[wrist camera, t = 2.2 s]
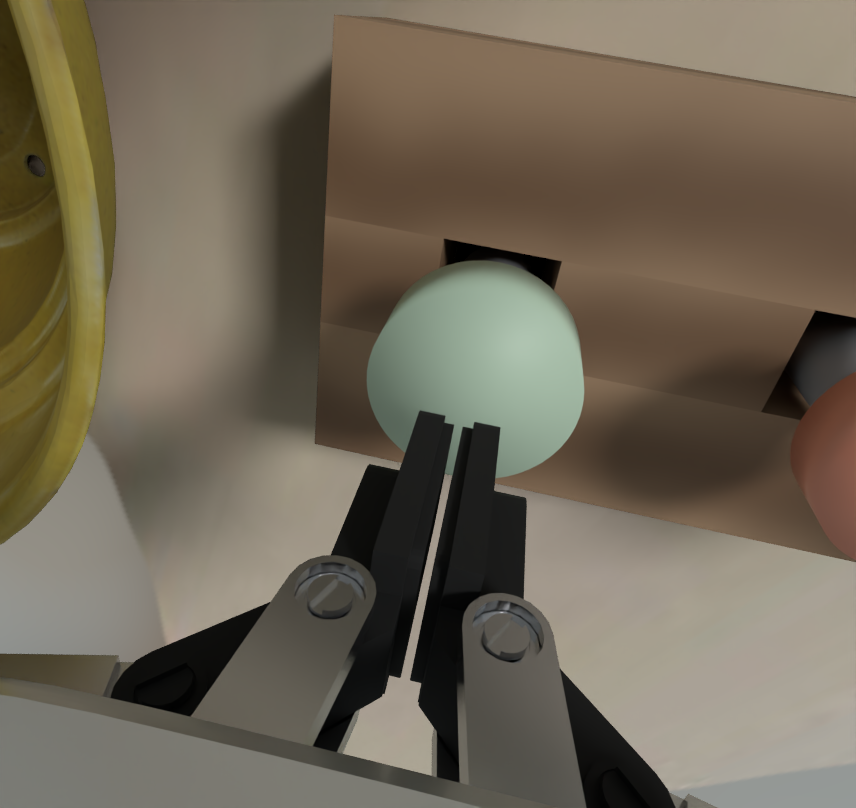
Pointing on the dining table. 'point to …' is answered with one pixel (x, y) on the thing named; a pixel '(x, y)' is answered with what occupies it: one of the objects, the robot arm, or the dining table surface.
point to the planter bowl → (50, 247)
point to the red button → (827, 424)
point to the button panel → (600, 252)
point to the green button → (481, 359)
